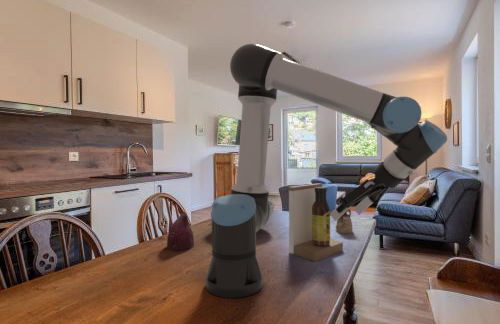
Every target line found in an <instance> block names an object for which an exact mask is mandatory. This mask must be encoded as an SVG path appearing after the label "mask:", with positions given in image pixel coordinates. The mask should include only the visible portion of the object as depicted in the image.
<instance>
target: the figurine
mask: <svg viewBox="0 0 500 324" xmlns="http://www.w3.org/2000/svg"><path fill="white" fill-rule="evenodd" d="M348 213H349V214H348ZM351 215H352V211H351V208H349V209H348V210H347V211H346V212H345V213H344V214H343V215H342V216H341V217H340V218H339V219H338V220H337V221H336V225H335V232H336V233H339V234H351V233H353V223H352V219H351Z"/></svg>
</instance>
